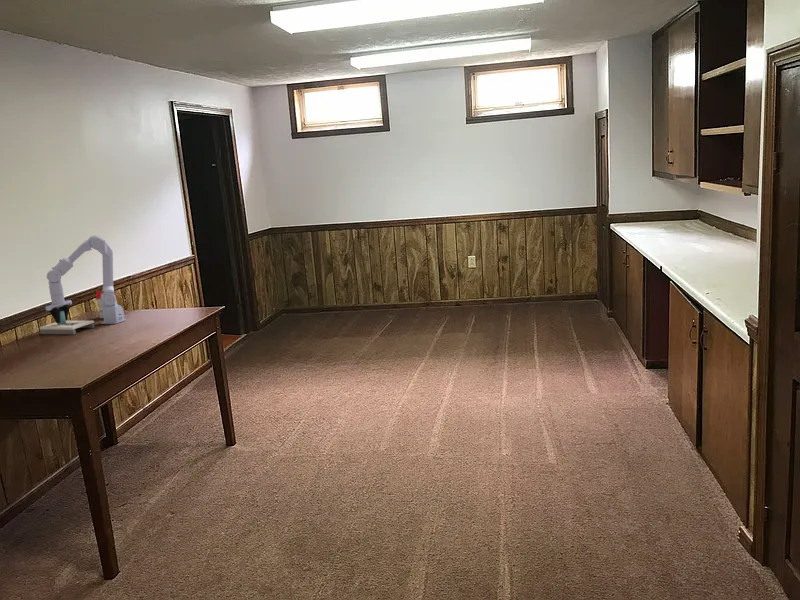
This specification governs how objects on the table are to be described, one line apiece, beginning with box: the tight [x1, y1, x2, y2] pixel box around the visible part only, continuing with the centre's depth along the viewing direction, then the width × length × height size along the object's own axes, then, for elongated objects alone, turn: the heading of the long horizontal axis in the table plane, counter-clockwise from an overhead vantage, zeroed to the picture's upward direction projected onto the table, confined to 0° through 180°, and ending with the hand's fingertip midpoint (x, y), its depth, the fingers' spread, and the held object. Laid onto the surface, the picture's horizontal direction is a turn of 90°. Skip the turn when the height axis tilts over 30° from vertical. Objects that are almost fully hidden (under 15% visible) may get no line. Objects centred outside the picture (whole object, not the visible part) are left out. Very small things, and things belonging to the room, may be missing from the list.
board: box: [39, 320, 95, 335], centre depth 336 cm, size 20×14×4 cm
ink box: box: [95, 290, 118, 319], centre depth 362 cm, size 8×5×15 cm, turn 84°
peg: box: [57, 311, 66, 325], centre depth 336 cm, size 4×4×9 cm
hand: (61, 321), depth 336 cm, fingers closed on peg, 4 cm apart
